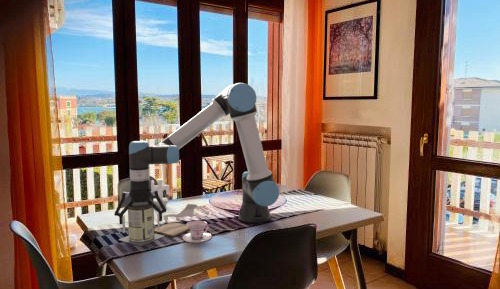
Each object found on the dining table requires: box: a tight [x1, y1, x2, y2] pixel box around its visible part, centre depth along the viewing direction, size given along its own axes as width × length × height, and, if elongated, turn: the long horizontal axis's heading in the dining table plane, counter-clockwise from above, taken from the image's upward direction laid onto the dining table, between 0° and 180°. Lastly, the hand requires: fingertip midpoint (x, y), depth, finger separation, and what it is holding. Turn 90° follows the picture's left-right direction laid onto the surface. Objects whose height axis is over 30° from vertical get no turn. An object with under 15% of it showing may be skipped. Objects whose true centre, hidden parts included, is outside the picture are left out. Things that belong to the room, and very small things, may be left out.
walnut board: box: [154, 221, 190, 238], centre depth 162 cm, size 13×13×1 cm
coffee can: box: [127, 201, 155, 242], centre depth 151 cm, size 10×10×14 cm
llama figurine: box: [163, 202, 210, 223], centre depth 175 cm, size 2×12×20 cm
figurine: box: [150, 177, 170, 209], centre depth 199 cm, size 7×9×15 cm
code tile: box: [118, 233, 165, 247], centre depth 152 cm, size 13×13×1 cm
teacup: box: [182, 220, 213, 244], centre depth 152 cm, size 12×12×6 cm
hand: (141, 230), depth 152 cm, fingers open, 13 cm apart
